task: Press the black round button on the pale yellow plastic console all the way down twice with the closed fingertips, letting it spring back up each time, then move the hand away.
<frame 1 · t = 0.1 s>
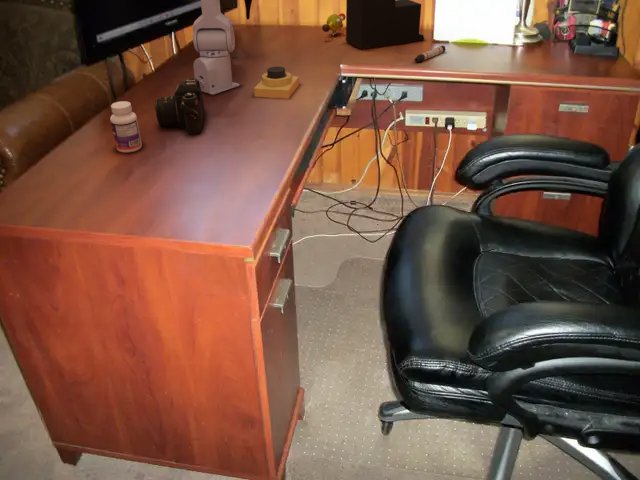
hand: (235, 18, 186), 11 cm above the table, tool pointing down, fingers open, 7 cm apart
toy figure: (335, 35, 208), on the table
pill bottle: (129, 148, 133), on the table
console: (277, 90, 162), on the table
button: (276, 73, 160), point 5 cm above the table, slide at 0.1 cm
bookend: (384, 42, 200), on the table
film camera: (184, 124, 144), on the table
marker: (428, 58, 184), on the table
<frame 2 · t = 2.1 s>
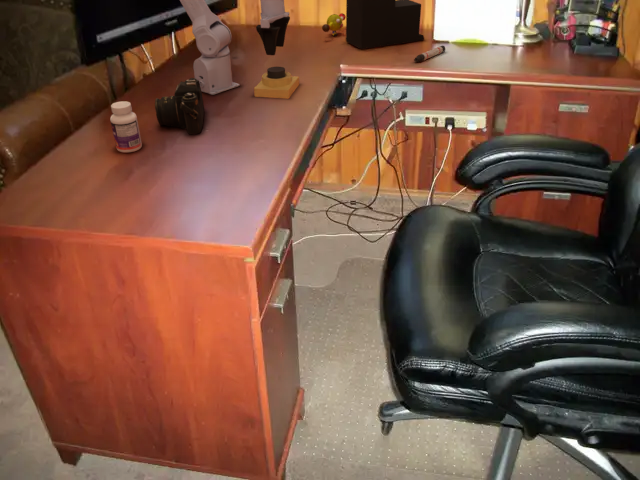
hand: (275, 50, 157), 10 cm above the table, tool pointing down, fingers open, 7 cm apart
nothing on the table moved.
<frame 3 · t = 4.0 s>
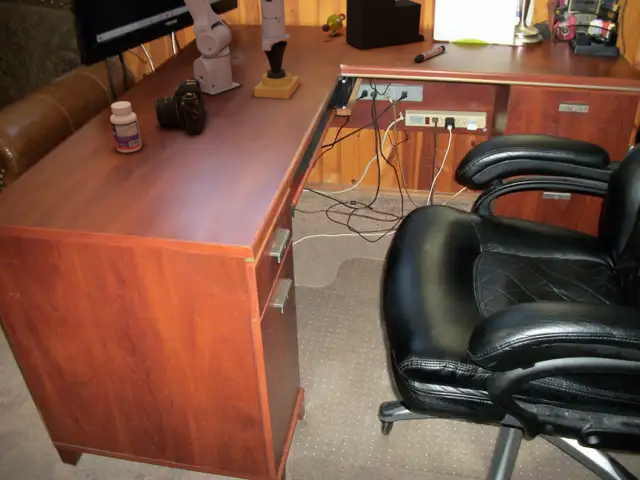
hand: (276, 71, 159), 5 cm above the table, tool pointing down, fingers closed, pressing on button
button: (276, 75, 160), point 4 cm above the table, slide at -0.4 cm, touching gripper
everything else where it was.
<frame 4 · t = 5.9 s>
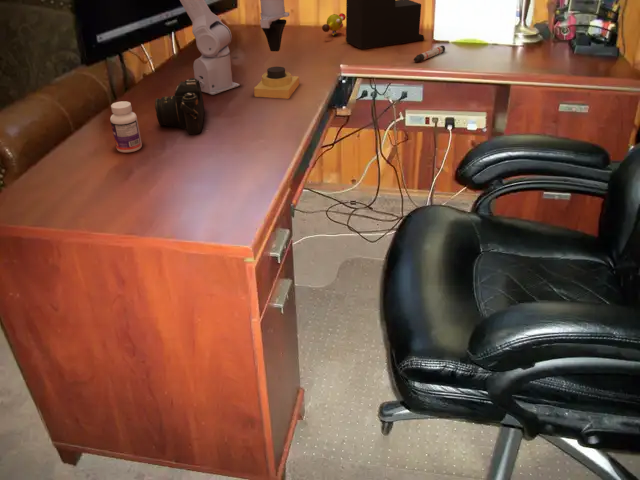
hand: (275, 50, 157), 10 cm above the table, tool pointing down, fingers closed
button: (276, 73, 160), point 5 cm above the table, slide at 0.1 cm
everything else where it was.
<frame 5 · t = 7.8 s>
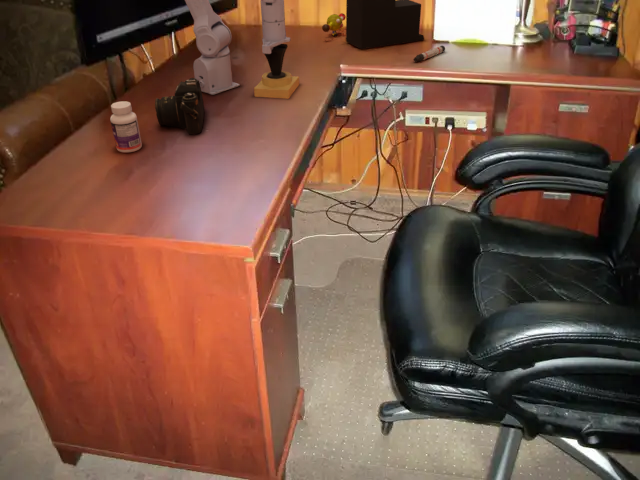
hand: (276, 74, 160), 4 cm above the table, tool pointing down, fingers closed, pressing on button
button: (276, 77, 160), point 3 cm above the table, slide at -1.2 cm, touching gripper
everything else where it was.
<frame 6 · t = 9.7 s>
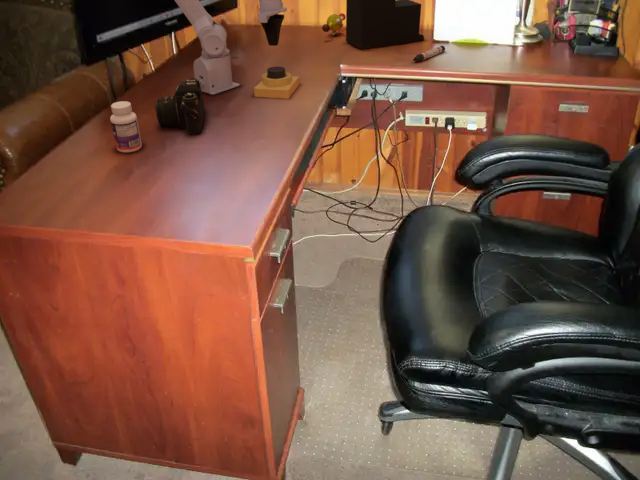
hand: (273, 44, 161), 10 cm above the table, tool pointing down, fingers closed
button: (276, 73, 160), point 5 cm above the table, slide at 0.1 cm
everything else where it was.
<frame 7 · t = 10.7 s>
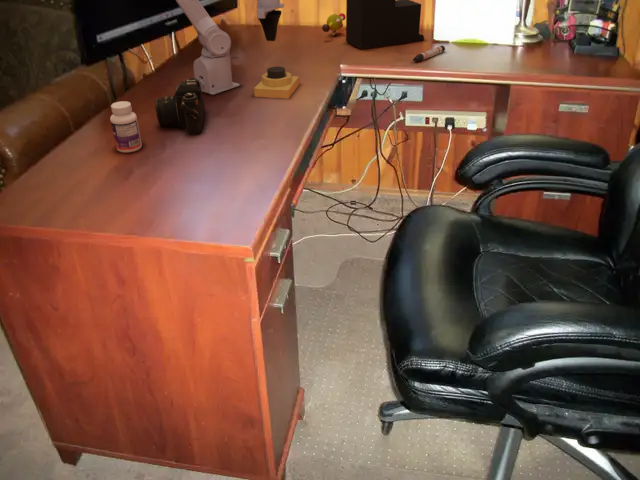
hand: (271, 40, 165), 10 cm above the table, tool pointing down, fingers closed
nothing on the table moved.
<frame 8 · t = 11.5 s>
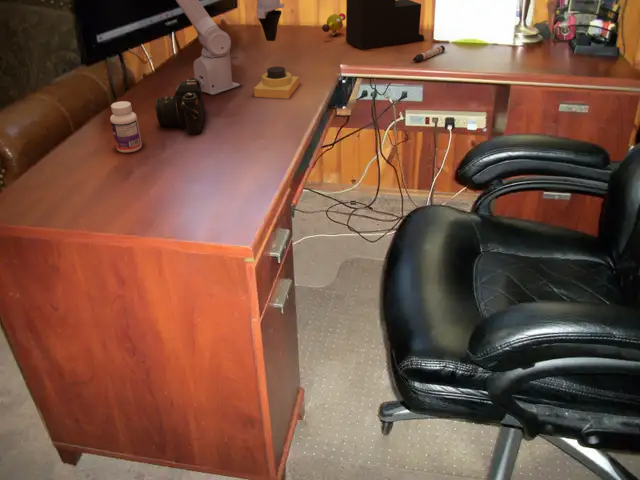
hand: (271, 40, 165), 10 cm above the table, tool pointing down, fingers closed
nothing on the table moved.
at the end: button pushed in 1.2 cm at the most during the clip, back to where it started at the end; button slide at 0.1 cm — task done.
